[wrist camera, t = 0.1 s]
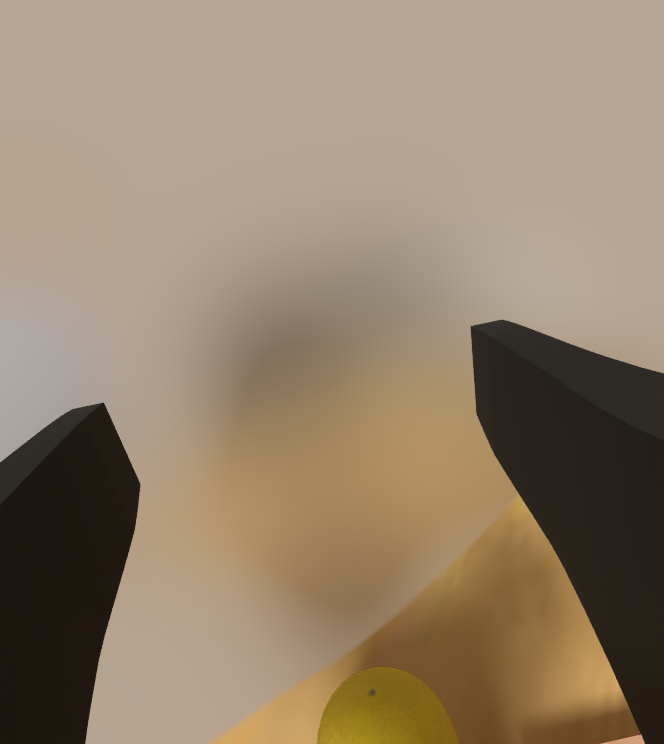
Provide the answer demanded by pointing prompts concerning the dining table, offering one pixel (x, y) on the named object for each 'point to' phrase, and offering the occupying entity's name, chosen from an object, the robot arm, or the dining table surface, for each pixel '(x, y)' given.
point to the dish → (628, 740)
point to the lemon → (385, 711)
